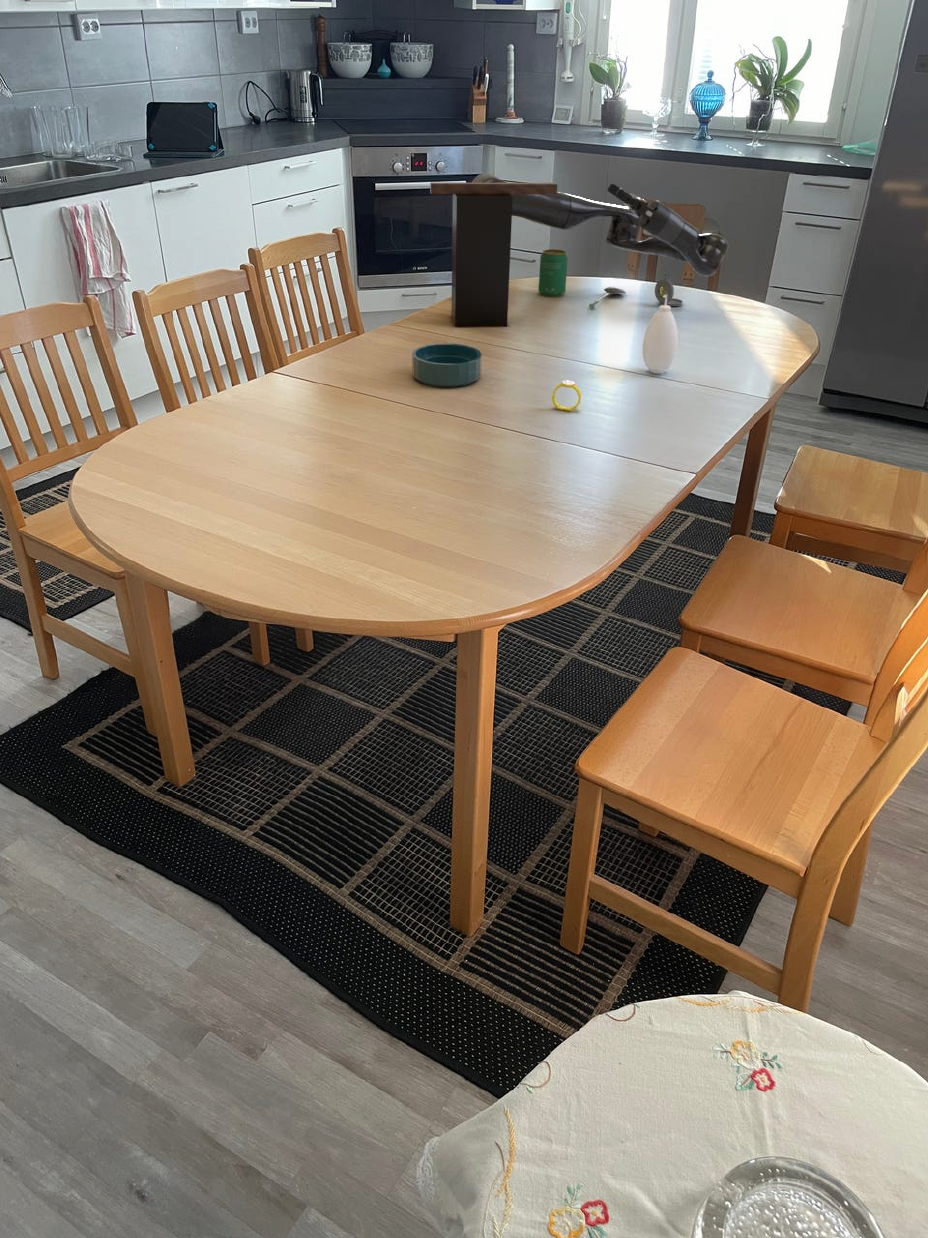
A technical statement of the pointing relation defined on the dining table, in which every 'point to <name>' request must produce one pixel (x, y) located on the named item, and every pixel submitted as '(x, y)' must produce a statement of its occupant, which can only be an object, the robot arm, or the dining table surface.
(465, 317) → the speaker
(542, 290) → the beverage can
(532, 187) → the stick
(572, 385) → the gold diamond ring
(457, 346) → the bowl
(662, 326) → the sauce bottle
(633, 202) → the robot arm
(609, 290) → the soupspoon
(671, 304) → the pocket watch
